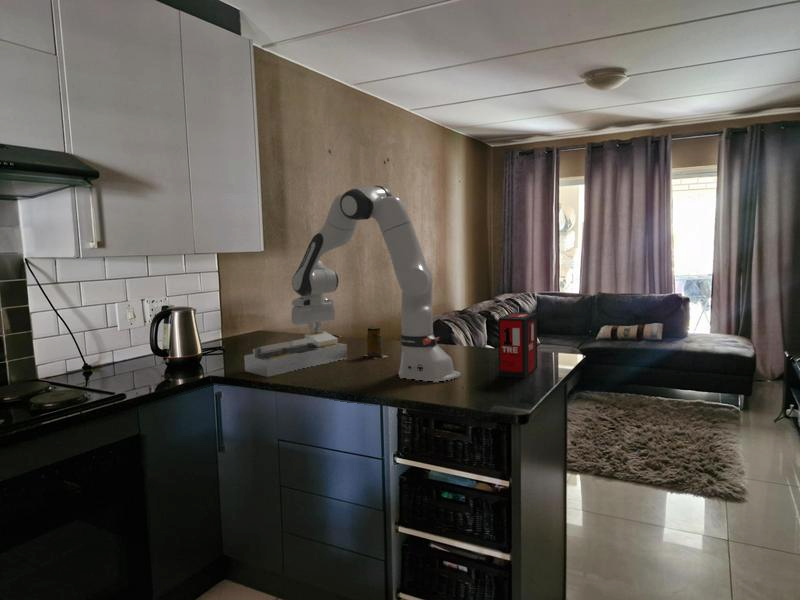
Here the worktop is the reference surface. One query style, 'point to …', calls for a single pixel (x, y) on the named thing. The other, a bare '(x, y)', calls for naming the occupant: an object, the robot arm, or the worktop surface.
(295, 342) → the rocker
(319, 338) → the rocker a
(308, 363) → the switch unit
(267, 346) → the rocker
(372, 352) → the condiment
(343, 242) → the robot arm
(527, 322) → the cleaning product box
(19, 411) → the worktop surface
